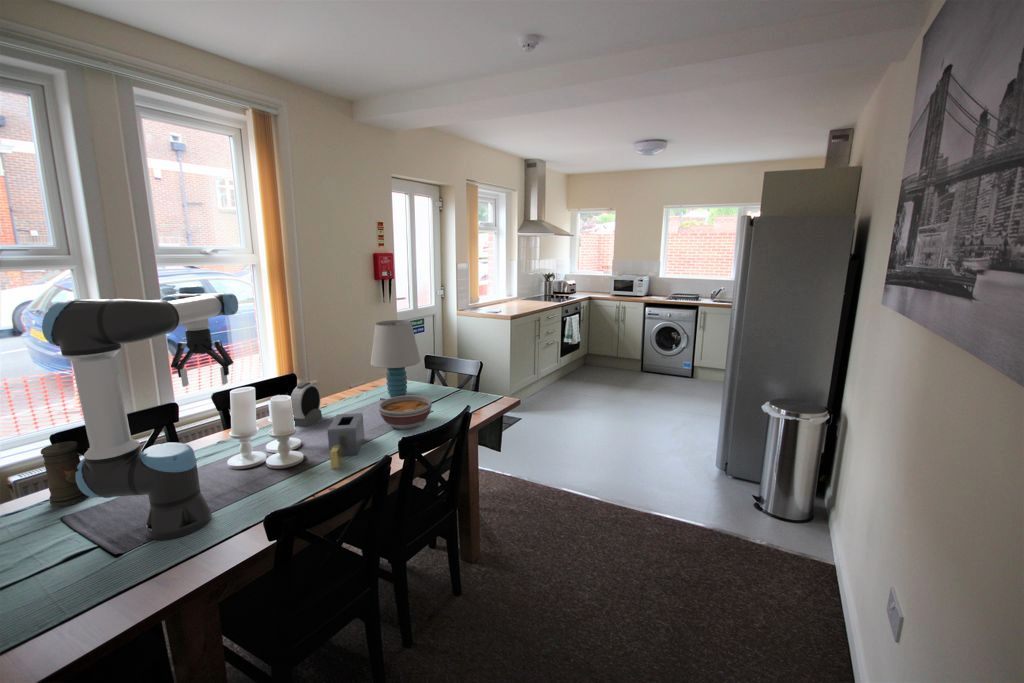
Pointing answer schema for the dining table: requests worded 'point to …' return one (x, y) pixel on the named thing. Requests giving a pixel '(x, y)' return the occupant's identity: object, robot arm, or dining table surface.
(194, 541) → the dining table surface
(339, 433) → the box
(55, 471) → the container
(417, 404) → the bowl
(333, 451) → the block
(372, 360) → the lamp
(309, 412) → the alarm clock
